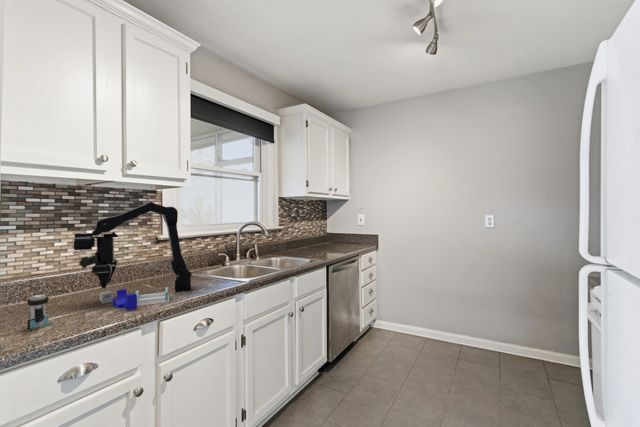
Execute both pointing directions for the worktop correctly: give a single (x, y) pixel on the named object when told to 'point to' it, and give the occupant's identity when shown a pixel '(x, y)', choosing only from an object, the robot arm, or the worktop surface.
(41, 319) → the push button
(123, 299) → the cable clip
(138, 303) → the end holder
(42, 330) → the worktop surface
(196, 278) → the worktop surface
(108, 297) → the usb wall charger
